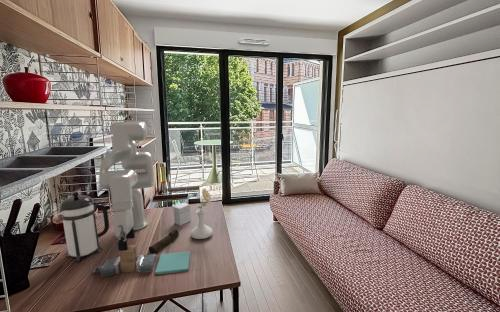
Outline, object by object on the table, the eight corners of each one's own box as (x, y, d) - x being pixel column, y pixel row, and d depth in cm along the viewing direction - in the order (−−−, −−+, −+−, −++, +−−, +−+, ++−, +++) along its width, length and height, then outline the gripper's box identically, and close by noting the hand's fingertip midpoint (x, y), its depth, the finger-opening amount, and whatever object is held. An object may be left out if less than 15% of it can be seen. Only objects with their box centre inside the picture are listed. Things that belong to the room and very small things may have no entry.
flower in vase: (203, 243, 126) (200, 195, 121) (186, 237, 131) (183, 192, 127) (218, 232, 137) (217, 187, 132) (202, 227, 143) (200, 184, 138)
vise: (99, 265, 109) (98, 257, 108) (156, 259, 113) (155, 251, 112) (91, 277, 101) (90, 268, 100) (152, 271, 105) (151, 262, 104)
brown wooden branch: (154, 256, 116) (153, 246, 115) (148, 253, 118) (147, 244, 117) (182, 237, 133) (182, 229, 132) (176, 235, 135) (176, 227, 134)
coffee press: (97, 260, 113) (88, 196, 107) (57, 264, 110) (46, 199, 105) (111, 240, 130) (104, 184, 124) (77, 243, 127) (68, 186, 121)
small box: (185, 218, 155) (183, 202, 153) (191, 220, 151) (190, 204, 149) (174, 223, 148) (172, 206, 146) (180, 225, 145) (179, 208, 143)
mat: (161, 256, 115) (160, 254, 115) (190, 253, 117) (190, 251, 117) (155, 274, 103) (155, 272, 102) (188, 270, 105) (188, 268, 105)
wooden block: (125, 265, 109) (123, 246, 108) (137, 263, 110) (135, 244, 108) (121, 272, 104) (119, 252, 103) (134, 271, 105) (132, 251, 103)
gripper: (120, 198, 110) (124, 235, 112) (104, 213, 93) (109, 256, 96) (138, 197, 111) (141, 233, 114) (125, 212, 94) (130, 254, 97)
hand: (127, 244), depth 105 cm, fingers open, 9 cm apart
